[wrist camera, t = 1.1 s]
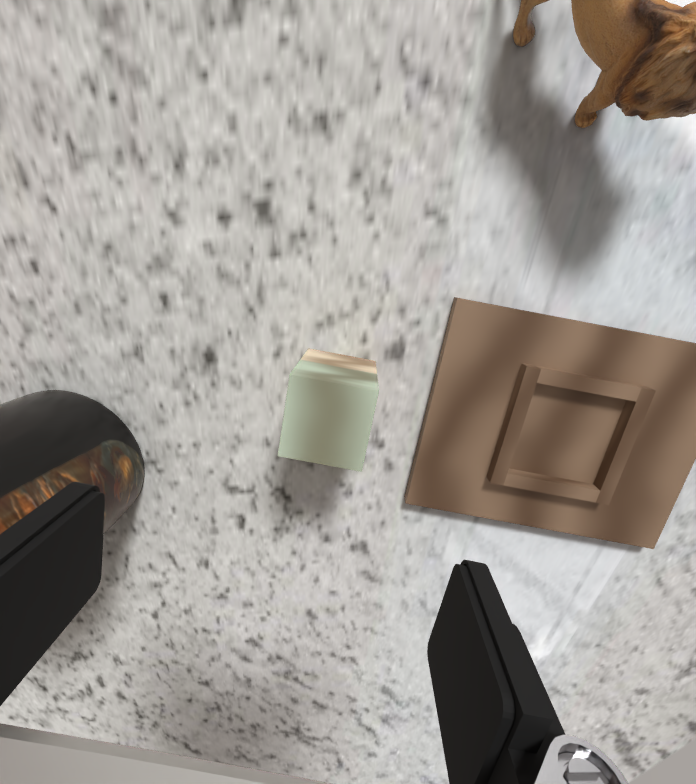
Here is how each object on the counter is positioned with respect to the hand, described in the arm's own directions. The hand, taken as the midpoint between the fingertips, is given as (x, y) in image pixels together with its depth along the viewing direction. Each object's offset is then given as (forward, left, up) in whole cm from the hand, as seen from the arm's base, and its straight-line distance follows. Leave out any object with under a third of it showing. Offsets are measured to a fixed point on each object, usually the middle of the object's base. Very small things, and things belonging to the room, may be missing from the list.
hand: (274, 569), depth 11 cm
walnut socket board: (-17, +1, -21) cm, 27 cm away
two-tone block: (0, +1, -21) cm, 21 cm away
